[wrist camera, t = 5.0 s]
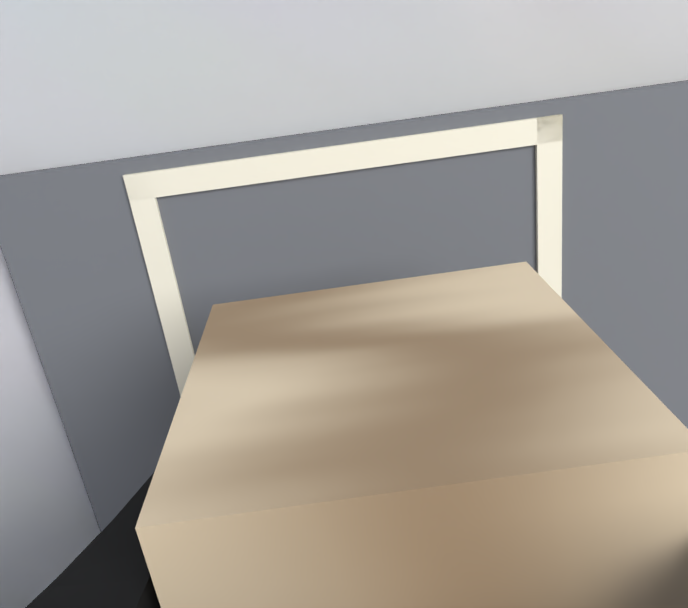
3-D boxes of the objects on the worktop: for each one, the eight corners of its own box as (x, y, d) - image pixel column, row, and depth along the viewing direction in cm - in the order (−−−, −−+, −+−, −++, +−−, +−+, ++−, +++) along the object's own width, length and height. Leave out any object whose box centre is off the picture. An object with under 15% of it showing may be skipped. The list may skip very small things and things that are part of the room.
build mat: (198, 791, 20) (196, 808, 20) (-13, 176, 13) (-25, 182, 12) (796, 706, 20) (807, 722, 20) (941, 45, 13) (964, 45, 12)
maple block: (267, 546, 12) (242, 861, 8) (213, 304, 10) (134, 528, 6) (529, 510, 12) (667, 802, 8) (526, 261, 10) (706, 449, 6)
